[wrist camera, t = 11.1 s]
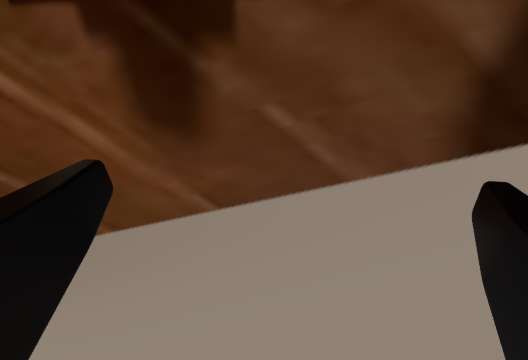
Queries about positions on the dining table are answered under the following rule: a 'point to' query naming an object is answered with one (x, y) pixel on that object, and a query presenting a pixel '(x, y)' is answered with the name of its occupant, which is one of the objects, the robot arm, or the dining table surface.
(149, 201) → the dining table surface
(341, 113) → the dining table surface
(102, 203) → the robot arm
